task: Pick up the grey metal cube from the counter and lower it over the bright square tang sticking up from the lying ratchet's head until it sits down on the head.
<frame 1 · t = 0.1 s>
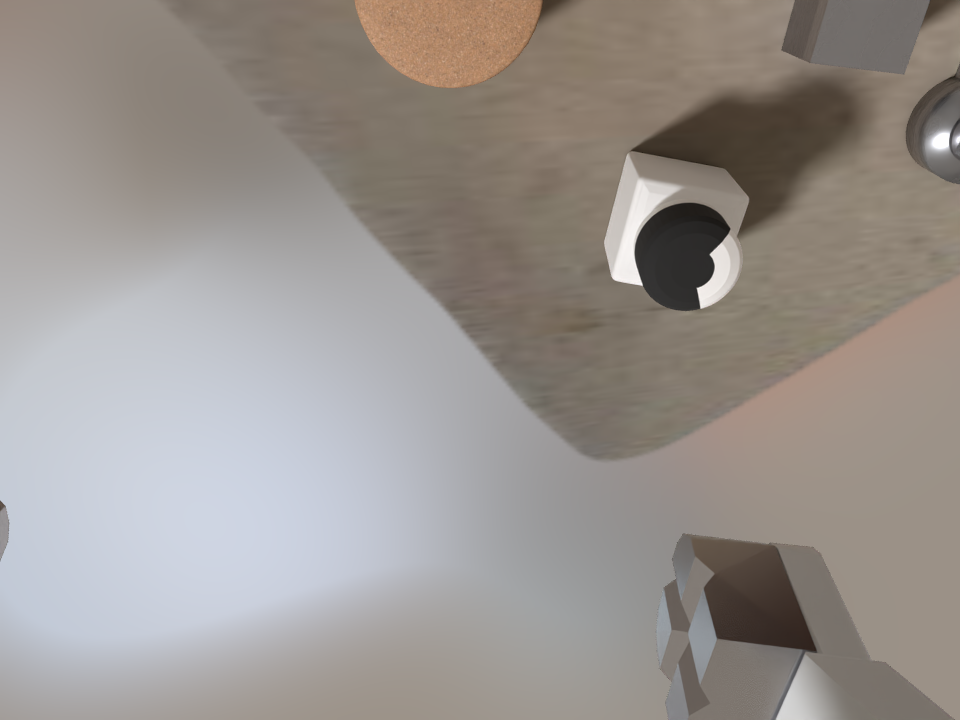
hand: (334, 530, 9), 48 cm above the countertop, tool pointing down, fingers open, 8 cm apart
grey metal cube: (837, 9, 49), on the countertop
ratchet: (956, 124, 52), on the countertop
medicine bottle: (662, 206, 56), on the countertop
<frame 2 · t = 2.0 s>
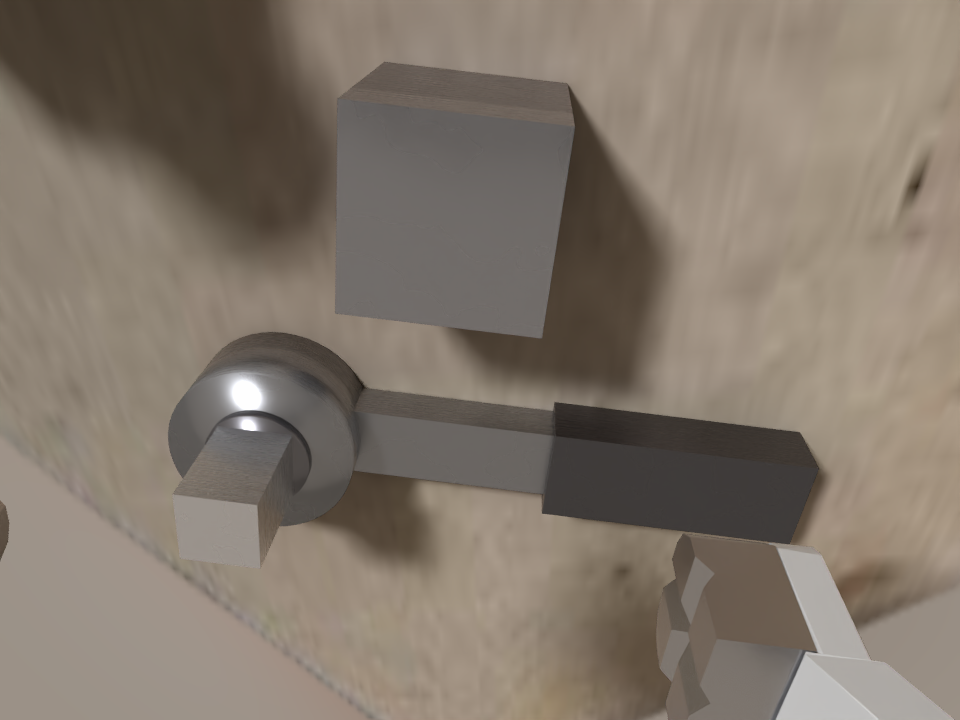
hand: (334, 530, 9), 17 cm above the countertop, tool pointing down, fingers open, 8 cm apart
grey metal cube: (467, 164, 24), on the countertop
ratchet: (285, 407, 29), on the countertop
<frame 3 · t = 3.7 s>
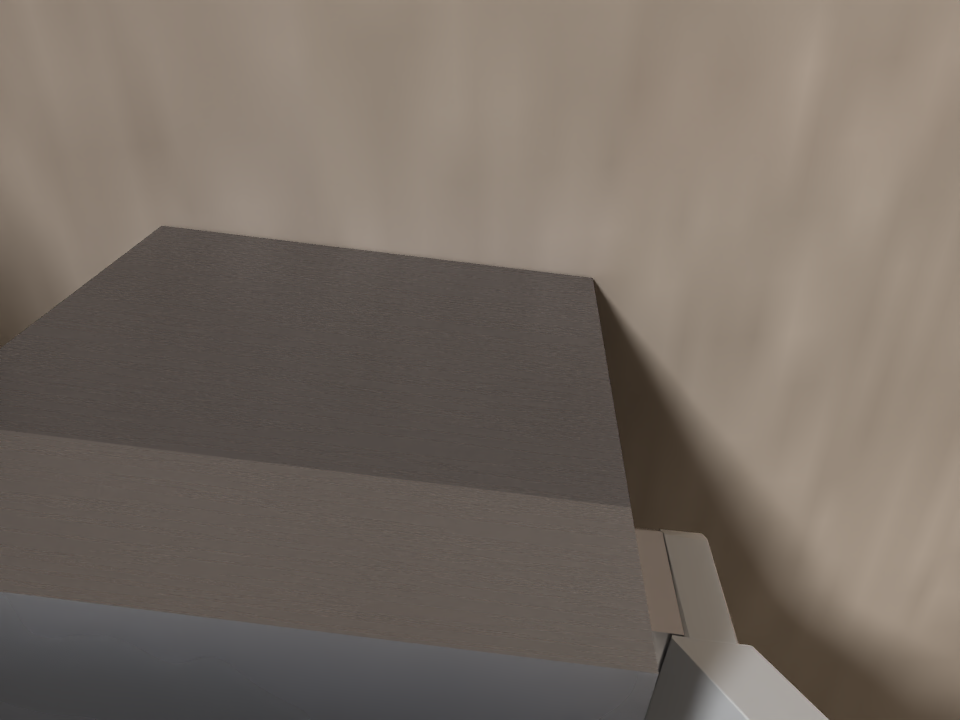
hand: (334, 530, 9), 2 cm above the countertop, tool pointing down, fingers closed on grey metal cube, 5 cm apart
grey metal cube: (369, 431, 11), on the countertop, touching gripper
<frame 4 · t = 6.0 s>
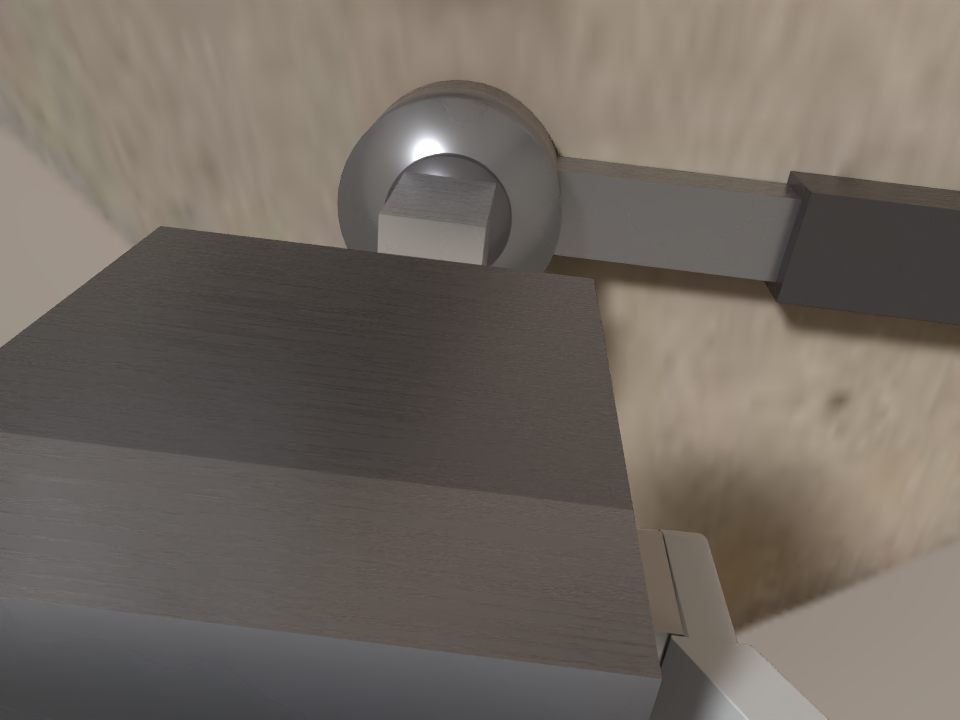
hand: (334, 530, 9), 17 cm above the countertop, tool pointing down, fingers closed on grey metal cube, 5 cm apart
grey metal cube: (369, 432, 11), point 15 cm above the countertop, touching gripper
ratchet: (459, 185, 25), on the countertop
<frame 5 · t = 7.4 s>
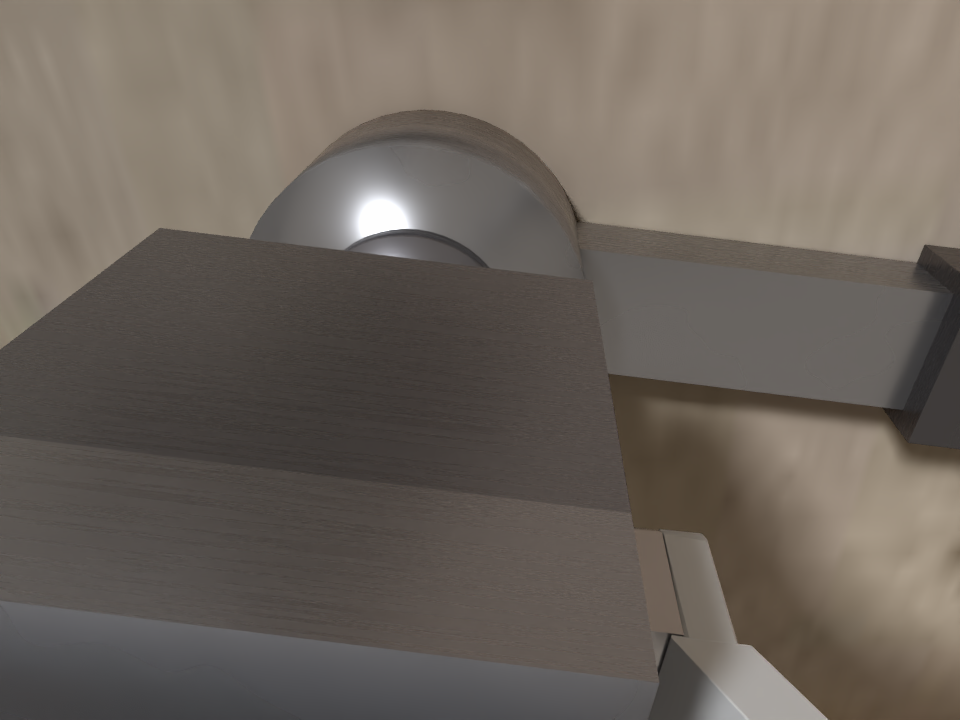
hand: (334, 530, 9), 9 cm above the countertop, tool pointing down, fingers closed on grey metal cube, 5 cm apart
grey metal cube: (368, 434, 11), point 6 cm above the countertop, touching gripper
ratchet: (432, 262, 17), on the countertop
when the fingers open (6 cm above the countertop, at t = 8.4 s): grey metal cube stays where it is, resting on ratchet.
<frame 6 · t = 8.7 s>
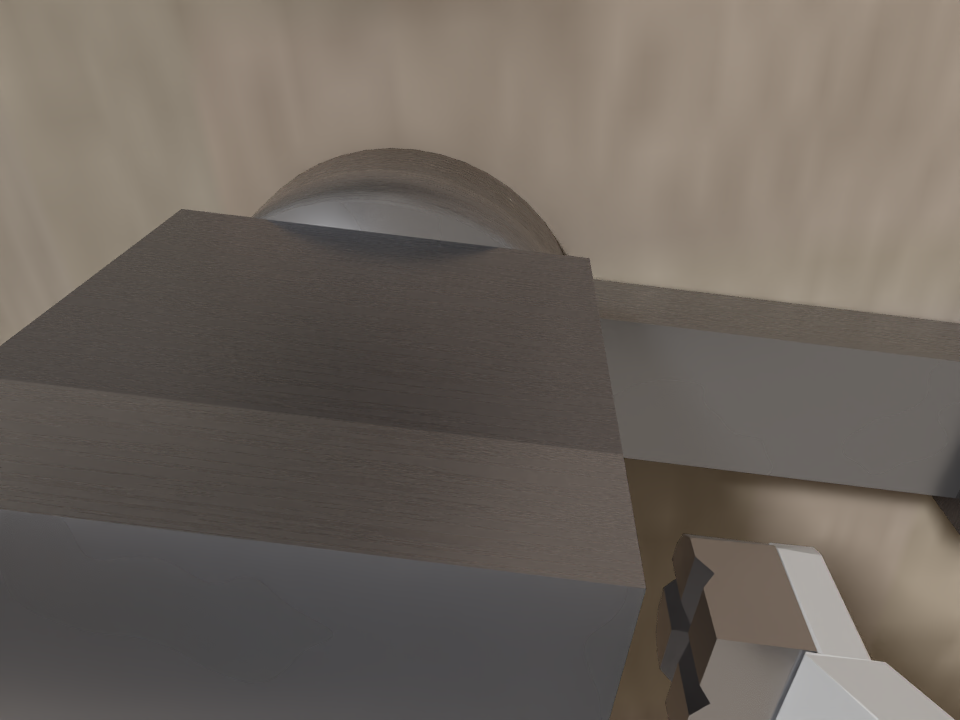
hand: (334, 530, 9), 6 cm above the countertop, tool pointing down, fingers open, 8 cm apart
grey metal cube: (377, 406, 12), point 3 cm above the countertop, touching ratchet
ratchet: (404, 322, 14), on the countertop
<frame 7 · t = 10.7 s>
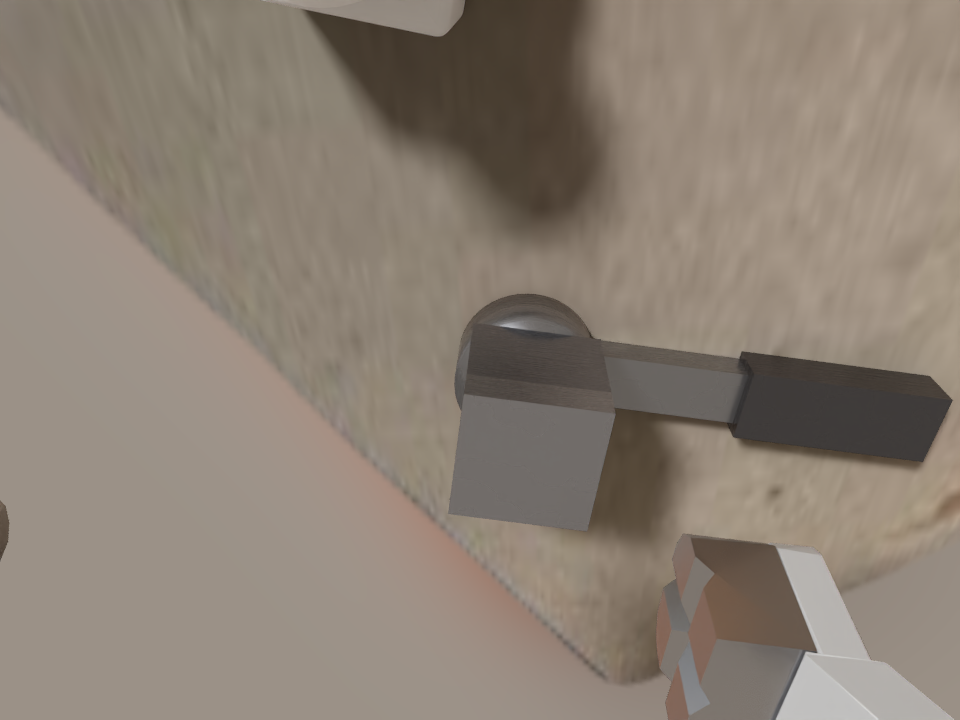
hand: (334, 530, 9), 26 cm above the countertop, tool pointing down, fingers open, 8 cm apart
grey metal cube: (527, 386, 34), point 3 cm above the countertop, touching ratchet
ratchet: (525, 355, 37), on the countertop
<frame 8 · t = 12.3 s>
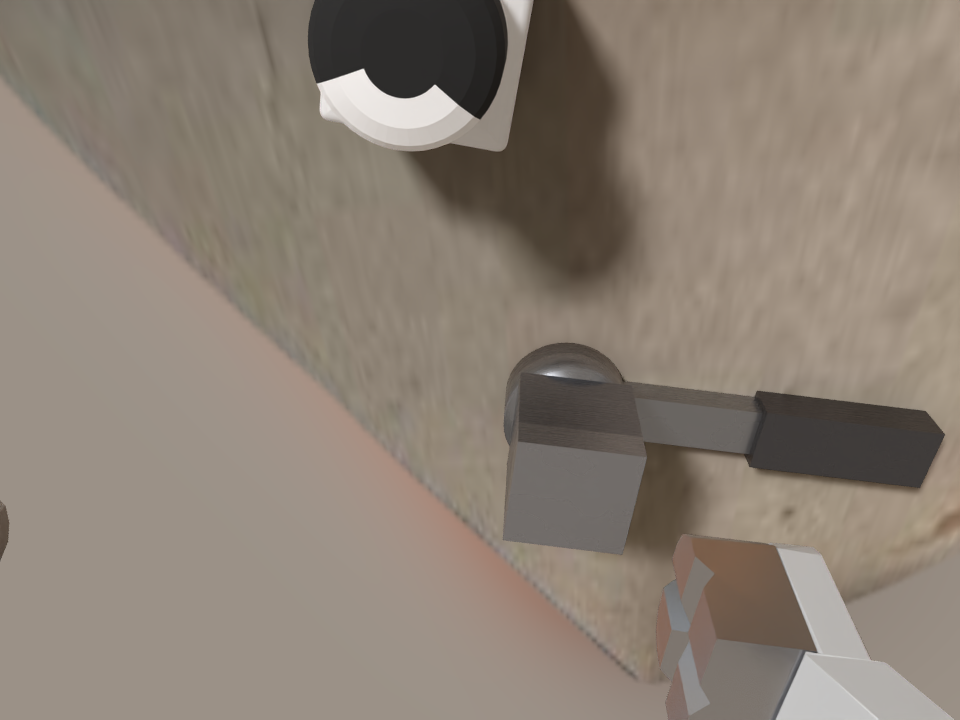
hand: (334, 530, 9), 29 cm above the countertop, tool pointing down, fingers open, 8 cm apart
grey metal cube: (567, 425, 39), point 3 cm above the countertop, touching ratchet
ratchet: (564, 395, 42), on the countertop
medicine bottle: (445, 18, 33), on the countertop
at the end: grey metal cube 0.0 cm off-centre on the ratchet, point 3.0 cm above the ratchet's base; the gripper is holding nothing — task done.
